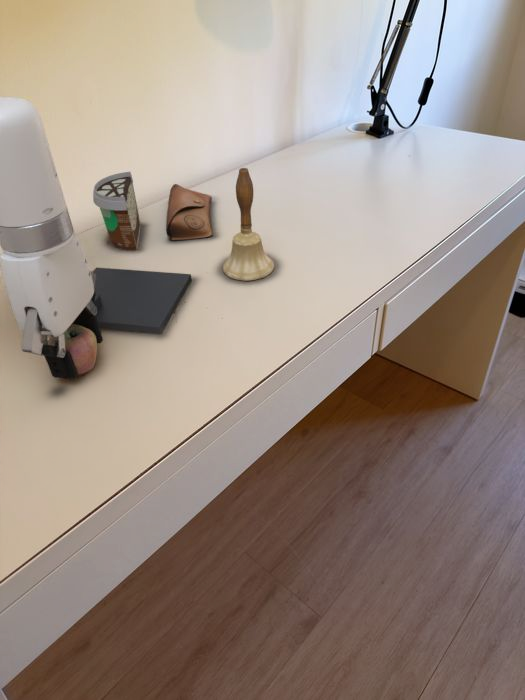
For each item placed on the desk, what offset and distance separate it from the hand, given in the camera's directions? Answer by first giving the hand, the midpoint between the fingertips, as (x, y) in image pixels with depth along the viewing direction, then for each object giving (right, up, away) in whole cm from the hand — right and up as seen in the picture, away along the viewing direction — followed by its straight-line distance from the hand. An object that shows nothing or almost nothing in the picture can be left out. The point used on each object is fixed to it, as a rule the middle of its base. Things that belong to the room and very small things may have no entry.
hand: (78, 357), depth 67 cm
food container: (-2, +21, +28) cm, 35 cm away
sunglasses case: (+10, +26, +34) cm, 44 cm away
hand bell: (+21, +14, +18) cm, 31 cm away
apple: (0, -2, 0) cm, 2 cm away
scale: (+3, +8, +12) cm, 15 cm away
